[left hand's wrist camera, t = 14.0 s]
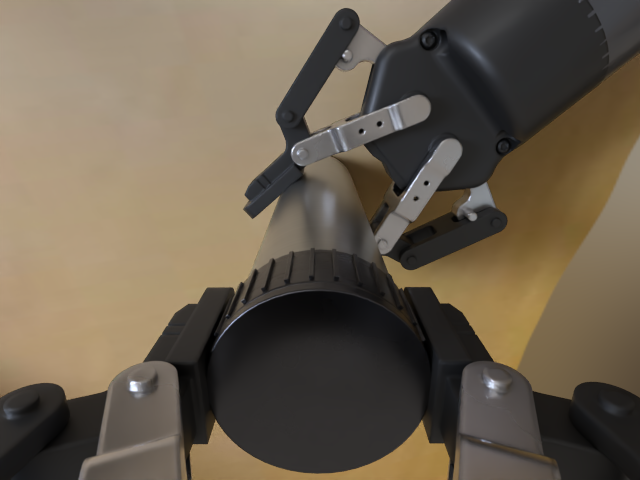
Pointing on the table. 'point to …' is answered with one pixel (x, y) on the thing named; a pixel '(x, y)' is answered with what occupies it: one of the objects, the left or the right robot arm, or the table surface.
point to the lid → (318, 364)
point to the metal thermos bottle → (320, 217)
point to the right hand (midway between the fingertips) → (284, 244)
